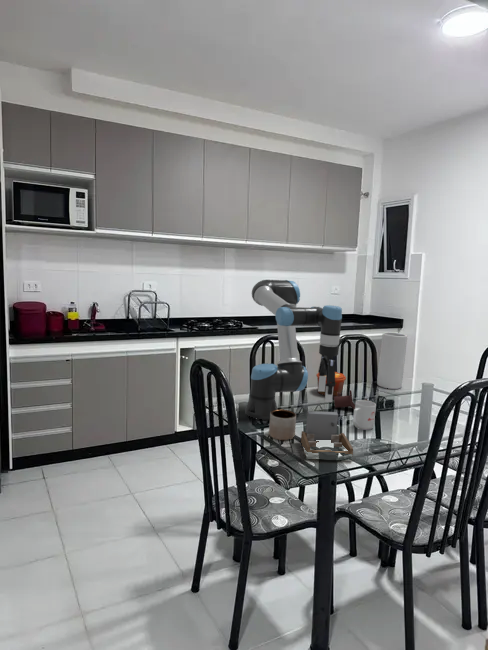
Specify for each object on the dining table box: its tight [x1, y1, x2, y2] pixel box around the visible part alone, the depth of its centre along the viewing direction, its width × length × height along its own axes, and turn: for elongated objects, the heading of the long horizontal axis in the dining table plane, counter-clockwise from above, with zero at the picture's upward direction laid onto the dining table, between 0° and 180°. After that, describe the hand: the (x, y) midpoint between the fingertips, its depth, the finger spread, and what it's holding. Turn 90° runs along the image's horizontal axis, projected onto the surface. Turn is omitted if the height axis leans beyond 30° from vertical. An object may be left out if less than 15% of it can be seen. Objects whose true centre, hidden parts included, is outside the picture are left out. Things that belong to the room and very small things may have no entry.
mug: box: [352, 399, 377, 431], centre depth 203 cm, size 12×9×11 cm
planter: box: [268, 408, 297, 441], centre depth 190 cm, size 11×11×10 cm
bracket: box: [333, 390, 369, 410], centre depth 227 cm, size 6×17×10 cm, turn 79°
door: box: [305, 410, 339, 441], centre depth 186 cm, size 12×4×12 cm, turn 91°
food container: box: [316, 371, 347, 398], centre depth 252 cm, size 16×16×11 cm
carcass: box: [300, 430, 354, 455], centre depth 177 cm, size 17×15×5 cm
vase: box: [376, 331, 408, 390], centre depth 271 cm, size 14×14×32 cm
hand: (324, 396), depth 185 cm, fingers open, 13 cm apart
